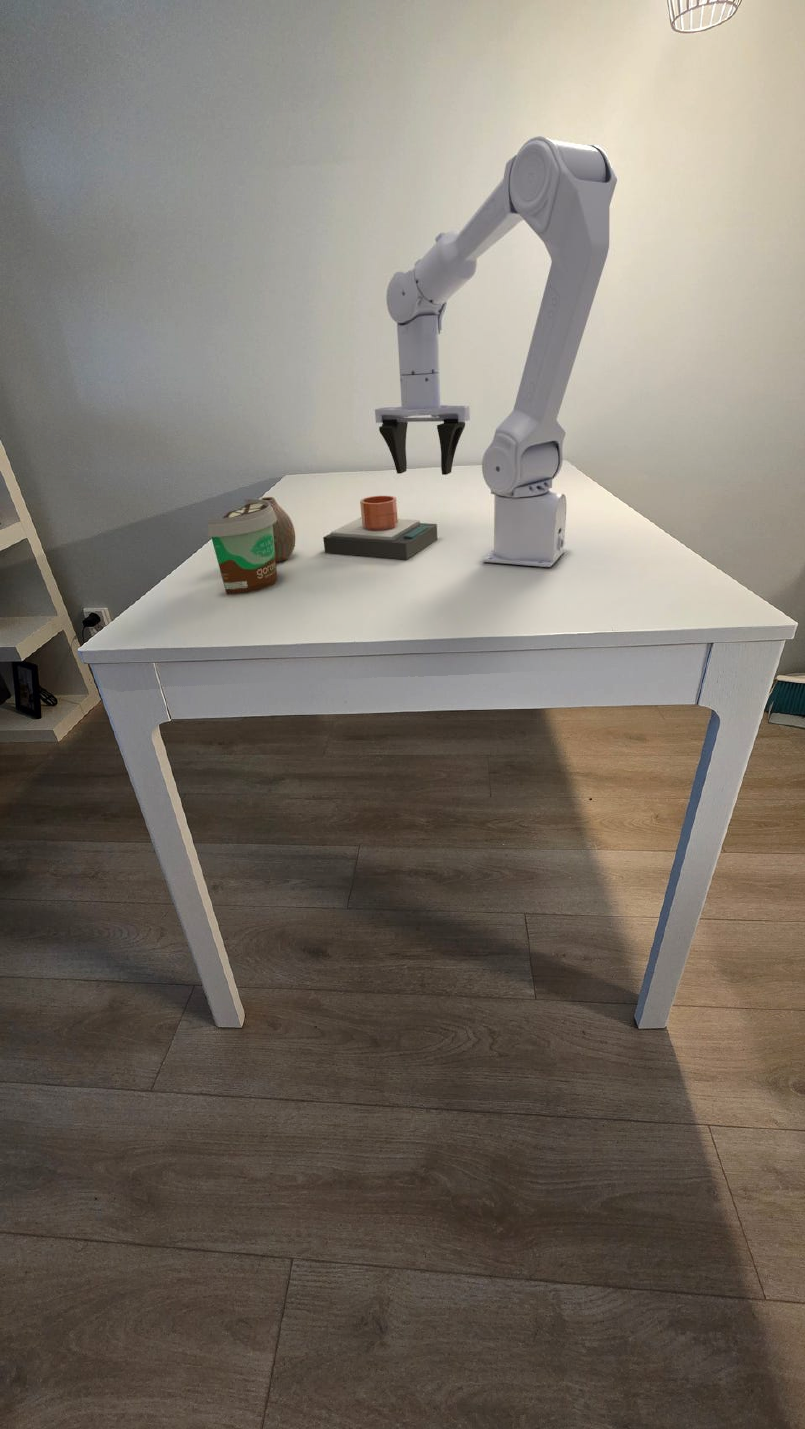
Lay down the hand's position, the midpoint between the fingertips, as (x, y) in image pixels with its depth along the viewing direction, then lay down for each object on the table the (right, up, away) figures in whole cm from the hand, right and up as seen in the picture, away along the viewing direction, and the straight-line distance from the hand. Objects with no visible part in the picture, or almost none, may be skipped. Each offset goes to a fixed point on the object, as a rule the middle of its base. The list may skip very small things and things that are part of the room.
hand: (423, 473), depth 99 cm
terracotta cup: (-7, -9, -1) cm, 11 cm away
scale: (-6, -11, 0) cm, 13 cm away
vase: (-22, -14, -2) cm, 26 cm away
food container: (-22, -20, -11) cm, 32 cm away
